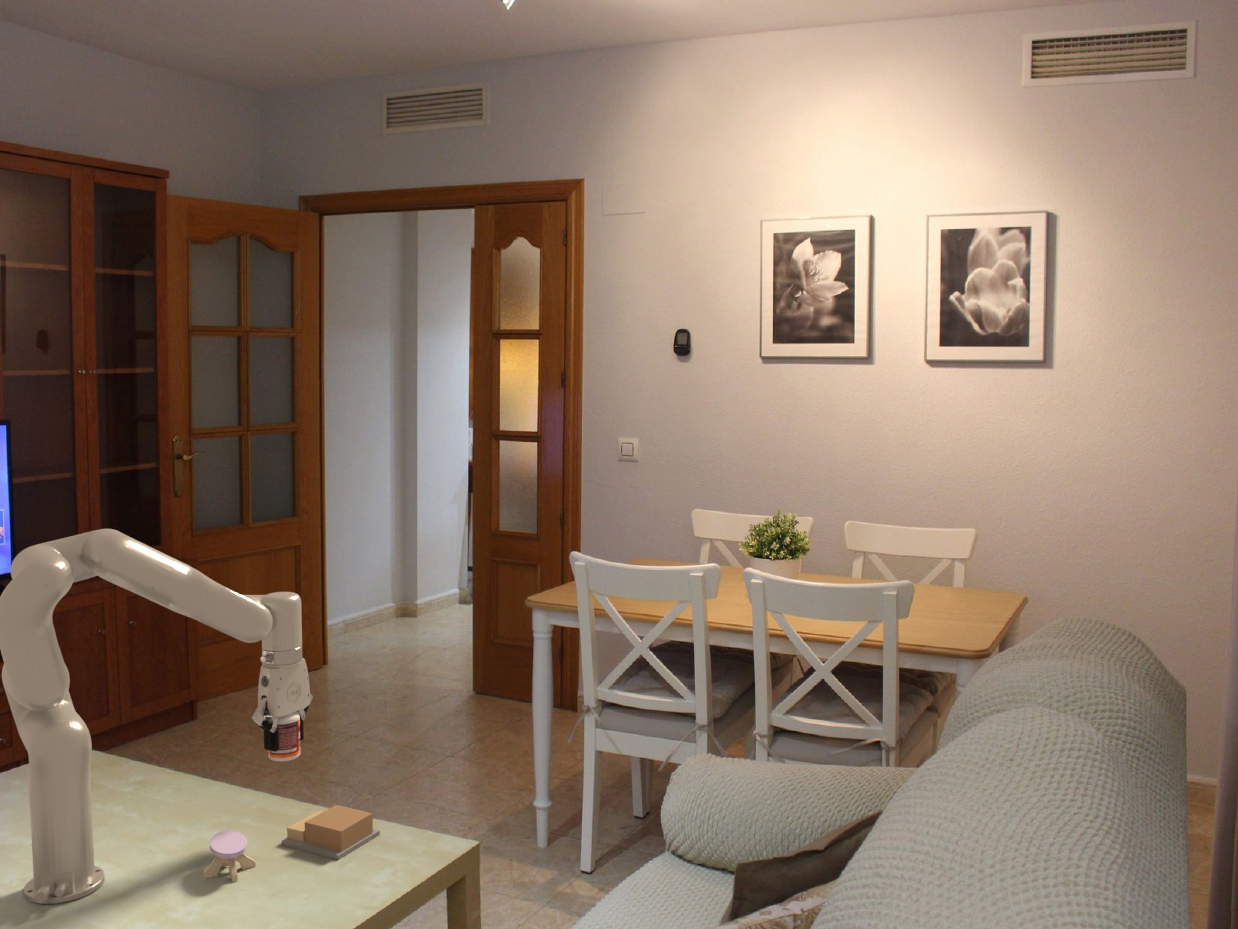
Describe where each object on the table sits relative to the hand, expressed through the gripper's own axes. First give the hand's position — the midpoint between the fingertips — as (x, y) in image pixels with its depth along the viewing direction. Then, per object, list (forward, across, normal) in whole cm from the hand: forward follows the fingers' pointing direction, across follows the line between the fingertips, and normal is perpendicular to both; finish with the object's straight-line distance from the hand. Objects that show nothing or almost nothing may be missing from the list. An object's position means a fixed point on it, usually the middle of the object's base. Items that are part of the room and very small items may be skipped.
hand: (284, 743), depth 209 cm
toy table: (+18, -18, -4) cm, 26 cm away
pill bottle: (+3, 0, 0) cm, 3 cm away
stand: (+17, 0, -11) cm, 21 cm away
